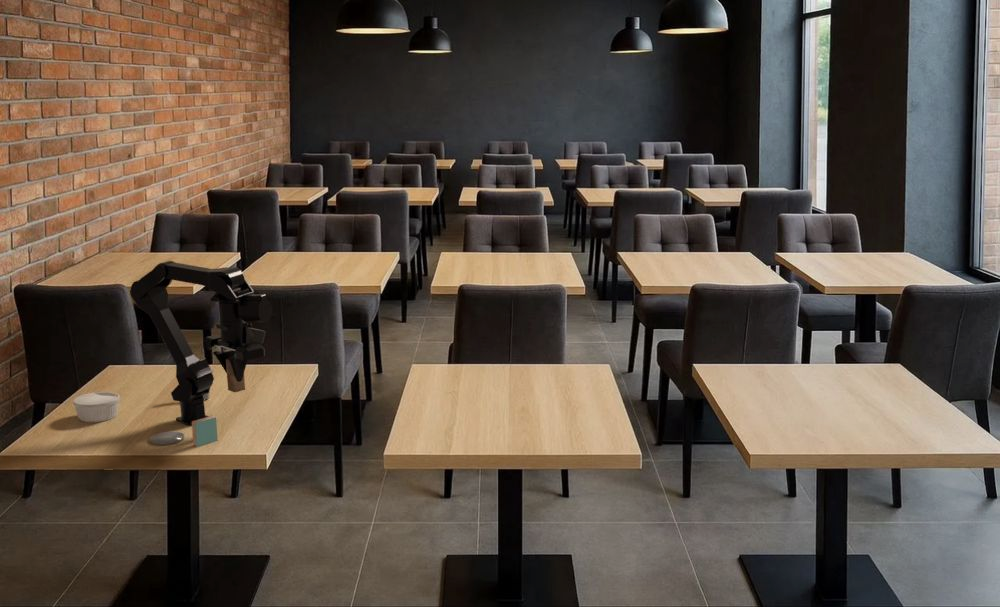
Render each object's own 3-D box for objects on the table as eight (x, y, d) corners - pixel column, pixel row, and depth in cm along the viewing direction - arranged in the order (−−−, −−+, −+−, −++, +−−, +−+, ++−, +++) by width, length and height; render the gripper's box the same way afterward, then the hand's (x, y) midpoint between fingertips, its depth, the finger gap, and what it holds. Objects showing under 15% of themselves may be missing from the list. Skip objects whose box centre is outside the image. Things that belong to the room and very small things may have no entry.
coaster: (143, 439, 253) (143, 437, 253) (173, 431, 258) (173, 429, 258) (160, 447, 247) (160, 445, 247) (190, 438, 253) (190, 436, 253)
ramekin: (128, 410, 275) (127, 391, 274) (109, 425, 264) (107, 405, 263) (88, 409, 276) (86, 390, 275) (67, 423, 265) (65, 404, 264)
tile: (193, 445, 249) (191, 421, 248) (214, 439, 253) (212, 415, 252) (197, 446, 248) (195, 422, 247) (217, 440, 252) (216, 417, 251)
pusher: (228, 390, 260) (225, 359, 258) (238, 387, 262) (236, 356, 260) (234, 392, 258) (232, 361, 256) (245, 389, 260) (243, 358, 258)
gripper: (281, 319, 255) (284, 380, 259) (238, 308, 268) (242, 366, 271) (242, 327, 247) (246, 390, 251) (199, 316, 260) (204, 376, 263)
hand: (235, 380), depth 259 cm, fingers closed on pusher, 3 cm apart
